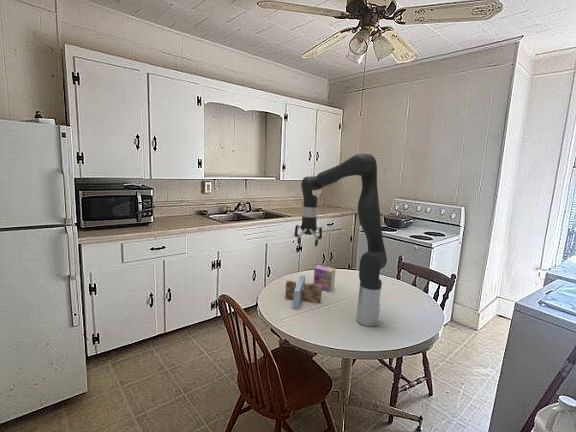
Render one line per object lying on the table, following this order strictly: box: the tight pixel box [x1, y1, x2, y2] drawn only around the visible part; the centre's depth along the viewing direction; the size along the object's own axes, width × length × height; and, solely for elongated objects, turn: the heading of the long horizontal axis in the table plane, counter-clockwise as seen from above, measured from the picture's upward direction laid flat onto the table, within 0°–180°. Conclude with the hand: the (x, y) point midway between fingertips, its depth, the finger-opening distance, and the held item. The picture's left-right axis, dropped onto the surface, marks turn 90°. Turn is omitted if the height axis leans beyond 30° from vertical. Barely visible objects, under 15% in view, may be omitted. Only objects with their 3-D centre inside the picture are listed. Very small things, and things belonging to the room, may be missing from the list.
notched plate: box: [292, 275, 306, 310], centre depth 158 cm, size 20×2×9 cm, turn 169°
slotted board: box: [284, 280, 323, 304], centre depth 157 cm, size 18×2×9 cm, turn 79°
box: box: [313, 264, 336, 293], centre depth 173 cm, size 10×6×12 cm, turn 62°
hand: (307, 245), depth 164 cm, fingers open, 8 cm apart
